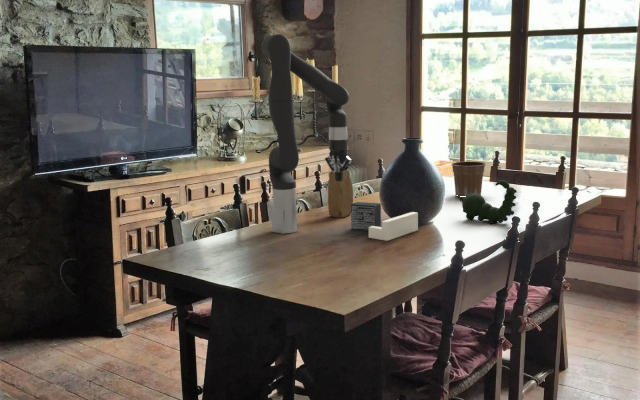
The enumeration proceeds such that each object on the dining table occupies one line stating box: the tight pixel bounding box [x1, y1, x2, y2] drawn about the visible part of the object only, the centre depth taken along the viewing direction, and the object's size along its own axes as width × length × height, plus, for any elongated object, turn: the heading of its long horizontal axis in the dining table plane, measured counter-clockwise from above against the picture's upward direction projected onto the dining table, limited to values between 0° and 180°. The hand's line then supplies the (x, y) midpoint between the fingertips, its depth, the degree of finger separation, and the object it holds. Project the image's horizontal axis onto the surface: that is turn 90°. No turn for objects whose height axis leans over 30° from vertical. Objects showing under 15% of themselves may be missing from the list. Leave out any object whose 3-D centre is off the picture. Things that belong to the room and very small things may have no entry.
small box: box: [350, 201, 382, 232], centre depth 270 cm, size 11×6×10 cm, turn 65°
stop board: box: [368, 211, 419, 241], centre depth 262 cm, size 20×8×7 cm, turn 139°
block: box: [327, 169, 354, 219], centre depth 295 cm, size 11×8×20 cm
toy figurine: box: [457, 180, 517, 224], centre depth 279 cm, size 9×19×25 cm
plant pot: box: [450, 160, 486, 196], centre depth 334 cm, size 16×16×16 cm
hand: (339, 181), depth 277 cm, fingers closed
